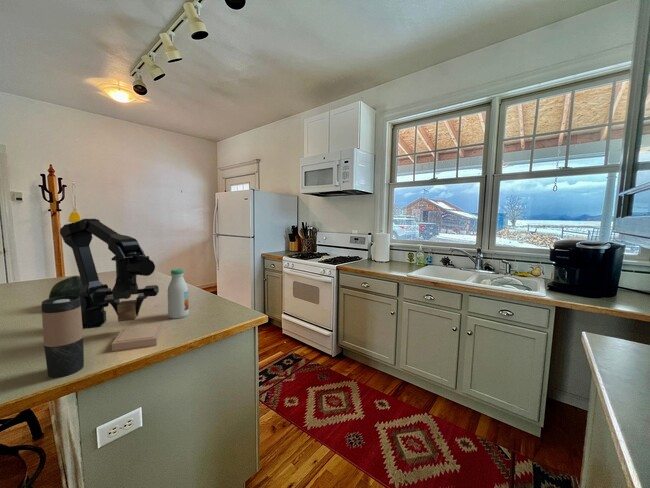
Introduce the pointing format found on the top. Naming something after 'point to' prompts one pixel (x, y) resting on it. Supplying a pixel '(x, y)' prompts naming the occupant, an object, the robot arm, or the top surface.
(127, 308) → the walnut block
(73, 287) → the squash
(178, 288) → the milk bottle
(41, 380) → the top surface
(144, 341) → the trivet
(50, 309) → the travel mug
